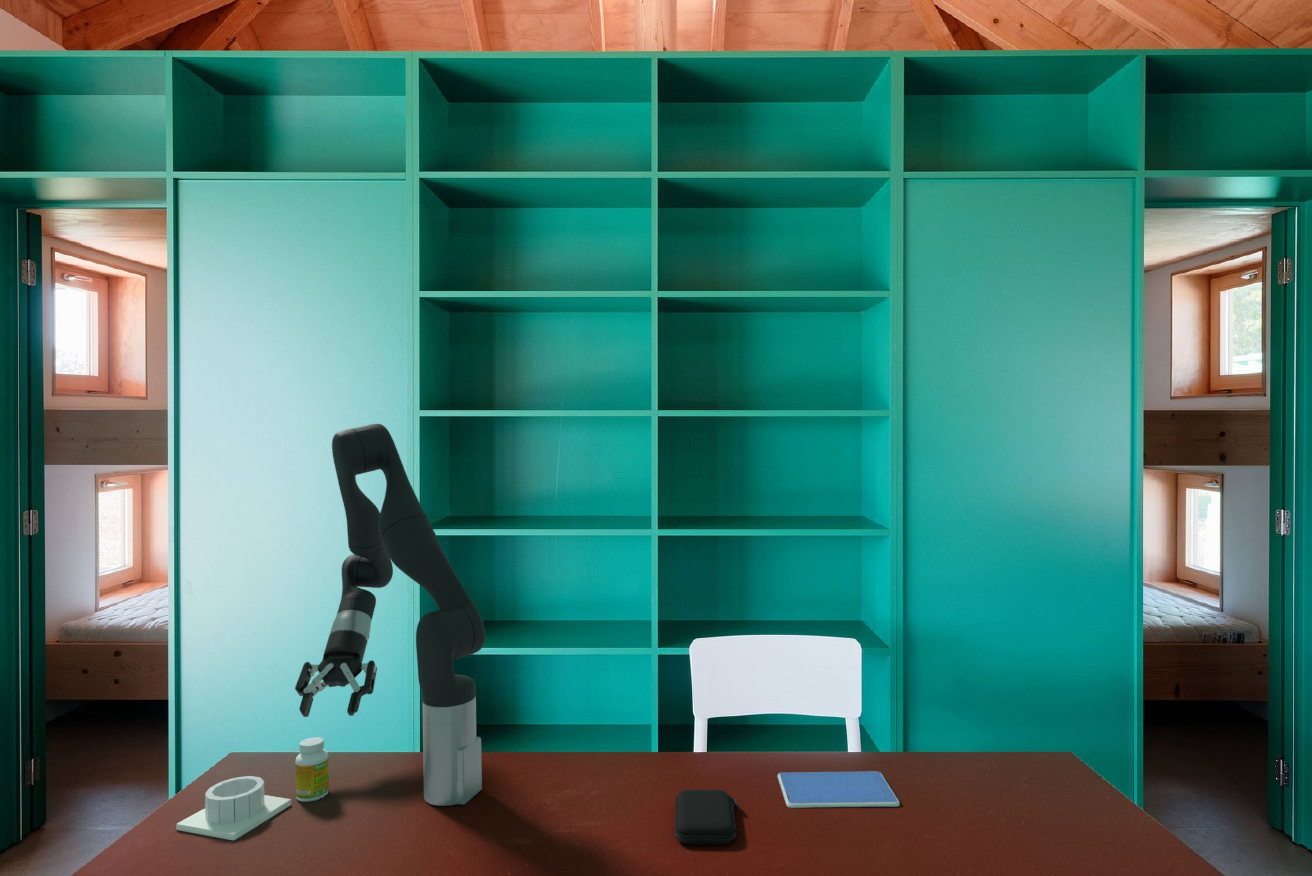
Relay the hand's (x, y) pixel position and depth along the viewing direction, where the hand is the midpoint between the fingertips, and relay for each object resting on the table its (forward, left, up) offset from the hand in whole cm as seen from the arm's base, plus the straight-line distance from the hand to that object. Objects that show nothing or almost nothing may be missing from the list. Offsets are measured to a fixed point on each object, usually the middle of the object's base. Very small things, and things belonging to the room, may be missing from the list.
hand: (327, 714), depth 142 cm
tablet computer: (-92, -20, -13) cm, 95 cm away
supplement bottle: (-2, +7, -12) cm, 14 cm away
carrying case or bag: (-73, -3, -12) cm, 74 cm away
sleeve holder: (+5, +17, -12) cm, 21 cm away
